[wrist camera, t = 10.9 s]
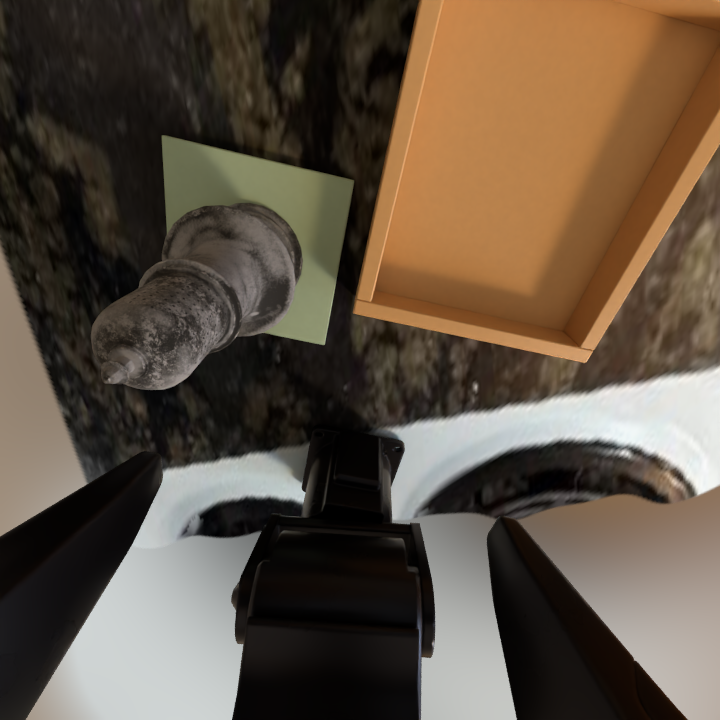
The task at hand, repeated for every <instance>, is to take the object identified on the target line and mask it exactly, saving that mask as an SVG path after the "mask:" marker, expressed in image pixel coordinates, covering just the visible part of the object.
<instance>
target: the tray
mask: <svg viewBox="0 0 720 720" xmlns="http://www.w3.org/2000/svg"><path fill="white" fill-rule="evenodd" d="M719 144H720V0H419V2H418V6H417V11H416V16H415V20H414V25H413V30H412V34H411V39H410V44H409V48H408V53H407V58H406V62H405V67H404V72H403V76H402V81H401V86H400V90H399V95H398V100H397V104H396V109H395V114H394V118H393V123H392V128H391V132H390V137H389V142H388V146H387V151H386V156H385V160H384V165H383V170H382V175H381V179H380V184H379V189H378V193H377V198H376V203H375V207H374V212H373V217H372V221H371V226H370V231H369V235H368V240H367V245H366V249H365V254H364V259H363V263H362V268H361V273H360V277H359V282H358V287H357V291H356V296H355V302H354V308H353V313H354V314H358V315H363V316H368V317H372V318H377V319H382V320H386V321H391V322H396V323H400V324H405V325H410V326H415V327H419V328H424V329H429V330H433V331H438V332H443V333H447V334H452V335H457V336H461V337H466V338H471V339H476V340H480V341H485V342H490V343H494V344H499V345H504V346H508V347H513V348H518V349H523V350H527V351H532V352H537V353H541V354H546V355H551V356H555V357H560V358H565V359H569V360H574V361H579V362H584V363H586V362H587V360H588V359H589V357H590V355H591V354H592V352H593V350H594V349H595V347H596V346H597V344H598V343H599V341H600V339H601V338H602V336H603V334H604V333H605V331H606V329H607V328H608V326H609V325H610V323H611V321H612V320H613V318H614V316H615V315H616V313H617V311H618V310H619V308H620V306H621V305H622V303H623V302H624V300H625V298H626V297H627V295H628V293H629V292H630V290H631V288H632V287H633V285H634V284H635V282H636V280H637V279H638V277H639V275H640V274H641V272H642V270H643V269H644V267H645V266H646V264H647V262H648V261H649V259H650V257H651V256H652V254H653V252H654V251H655V249H656V247H657V246H658V244H659V243H660V241H661V239H662V238H663V236H664V234H665V233H666V231H667V229H668V228H669V226H670V225H671V223H672V221H673V220H674V218H675V216H676V215H677V213H678V211H679V210H680V208H681V206H682V205H683V203H684V202H685V200H686V198H687V197H688V195H689V193H690V192H691V190H692V188H693V187H694V185H695V184H696V182H697V180H698V179H699V177H700V175H701V174H702V172H703V170H704V169H705V167H706V165H707V164H708V162H709V161H710V159H711V157H712V156H713V154H714V152H715V151H716V149H717V147H718V146H719Z"/></svg>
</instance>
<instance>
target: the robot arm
mask: <svg viewBox="0 0 720 720" xmlns="http://www.w3.org/2000/svg"><path fill="white" fill-rule="evenodd" d="M317 432H322V433H317ZM395 447H399V448H395ZM404 451H405V447H404V443H403V442H402V441H400V440H396V439H390V438H385V437H380V436H375V435H370V434H364V433H359V432H354V431H349V430H343V429H338V428H333V427H328V426H323V425H317V426H315V427H314V428H313V431H312V436H311V441H310V446H309V452H308V457H307V462H306V468H305V473H304V478H303V484H302V490H303V491H304V492H306V494H305V498H304V503H303V508H302V512H301V517H292V516H281V514H271V516H270V518H269V520H268V522H267V524H266V525H265V526H264V527H263V530H262V532H261V534H260V536H259V538H258V540H257V543H256V545H255V547H254V549H253V551H252V554H251V556H250V558H249V560H248V562H247V564H246V566H245V569H244V571H243V573H242V575H241V578H240V581H239V583H238V584H237V586H236V587H235V588H234V590H233V593H232V599H231V602H232V604H233V606H234V608H235V609H236V621H235V637H236V641H237V643H238V644H244V645H243V653H242V660H241V668H240V676H239V683H238V691H237V697H236V702H235V708H234V712H233V718H232V720H421V657H427V658H431V657H432V655H433V649H434V641H435V604H434V592H433V585H432V578H431V573H430V568H429V564H428V559H427V555H426V551H425V546H424V541H423V537H422V532H421V528H420V524H419V523H410V524H398V523H392V506H391V486H392V483H393V481H394V478H395V475H396V472H397V470H398V467H399V464H400V462H401V459H402V456H403V453H404ZM162 479H163V471H162V460H161V456H160V454H158V453H153V452H147V451H144V452H141V453H139V454H137V455H135V456H134V457H132V458H130V459H129V460H127V461H125V462H124V463H122V464H120V465H119V466H117V467H115V468H114V469H112V470H110V471H109V472H107V473H105V474H104V475H102V476H100V477H99V478H97V479H95V480H94V481H92V482H90V483H89V484H87V485H85V486H84V487H82V488H80V489H79V490H77V491H75V492H74V493H72V494H70V495H69V496H67V497H66V498H64V499H62V500H60V501H59V502H57V503H56V504H54V505H52V506H51V507H49V508H47V509H45V510H44V511H42V512H41V513H39V514H37V515H36V516H34V517H32V518H30V519H29V520H27V521H25V522H24V523H22V524H21V525H19V526H17V527H15V528H14V529H12V530H10V531H9V532H7V533H5V534H4V535H2V536H0V720H26V718H27V716H28V715H29V713H30V712H31V710H32V708H33V707H34V705H35V703H36V702H37V700H38V698H39V697H40V695H41V693H42V692H43V690H44V688H45V687H46V685H47V684H48V682H49V680H50V679H51V677H52V675H53V674H54V672H55V670H56V669H57V667H58V666H59V664H60V662H61V661H62V659H63V657H64V656H65V654H66V652H67V651H68V649H69V647H70V646H71V644H72V642H73V641H74V639H75V638H76V636H77V634H78V633H79V631H80V629H81V628H82V626H83V625H84V623H85V621H86V620H87V618H88V616H89V614H90V613H91V611H92V610H93V608H94V606H95V605H96V603H97V601H98V600H99V598H100V597H101V595H102V593H103V592H104V590H105V588H106V586H107V585H108V583H109V582H110V580H111V578H112V577H113V575H114V574H115V572H116V570H117V569H118V567H119V565H120V563H121V562H122V560H123V559H124V557H125V556H126V554H127V552H128V551H129V549H130V547H131V545H132V544H133V542H134V540H135V538H136V536H137V534H138V532H139V530H140V527H141V525H142V523H143V521H144V519H145V517H146V515H147V513H148V511H149V509H150V506H151V504H152V502H153V500H154V498H155V496H156V494H157V492H158V490H159V488H160V485H161V483H162ZM487 549H488V558H489V567H490V578H491V586H492V596H493V603H494V608H495V614H496V619H497V624H498V629H499V634H500V639H501V643H502V648H503V653H504V658H505V663H506V668H507V673H508V678H509V683H510V688H511V693H512V697H513V702H514V707H515V711H516V717H517V720H687V718H686V717H685V716H684V715H683V714H682V713H681V712H680V711H679V710H678V709H677V708H676V706H675V705H674V704H673V703H672V702H671V701H670V699H669V698H668V697H667V696H666V695H665V694H664V693H663V691H662V690H661V689H660V688H659V687H658V686H657V684H656V683H655V682H654V681H653V680H652V679H651V678H650V676H649V675H648V674H647V673H646V672H645V670H643V668H642V667H641V666H640V665H639V663H637V661H634V658H633V657H632V655H631V654H630V653H629V652H628V651H627V649H626V648H625V647H624V646H623V645H622V643H621V642H620V641H619V640H618V639H617V638H616V636H615V635H614V634H613V633H612V632H611V630H610V629H609V628H608V627H607V626H606V624H605V623H604V622H603V621H602V620H601V619H600V617H599V616H598V615H597V614H596V613H595V612H594V610H593V609H592V608H591V607H590V606H589V605H588V603H587V602H586V601H585V600H584V599H583V598H582V596H581V595H580V594H579V593H578V591H577V590H576V589H575V588H574V587H573V585H572V584H571V583H570V582H569V581H568V580H567V578H566V577H565V576H564V575H563V574H562V572H561V571H560V570H559V569H558V568H557V567H556V565H555V564H554V563H553V562H552V561H551V560H550V558H549V557H548V556H547V555H546V554H545V552H544V551H543V550H542V549H541V548H540V546H539V545H538V544H537V543H536V542H535V541H534V539H533V538H532V537H531V536H530V535H529V534H528V532H527V531H526V530H525V529H524V528H523V527H522V525H521V524H520V523H519V522H518V521H517V520H516V519H515V518H511V517H506V516H500V517H498V519H497V520H496V522H495V524H494V525H493V527H492V528H491V530H490V531H489V533H488V536H487Z"/></svg>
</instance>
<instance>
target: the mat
mask: <svg viewBox="0 0 720 720" xmlns="http://www.w3.org/2000/svg"><path fill="white" fill-rule="evenodd" d="M162 151H163V169H164V187H165V205H166V223H167V234H168V232H169V231H170V229H171V227H172V226H173V224H174V223H175V222H176V221H177V220H178V219H180V218H181V217H182V216H183V215H185V214H186V213H187V212H190V211H192V210H195V209H198V208H200V207H203V206H215V205H224V206H230V205H233V204H235V203H253V204H257V205H262V206H264V207H266V208H268V209H270V210H272V211H274V212H276V213H277V214H278V215H279V216H281V217H282V218H283V219H284V220H285V221H286V222H287V223H288V224H289V225H290V227H291V228H292V230H293V231H294V233H295V234H296V236H297V238H298V241H299V244H300V246H301V250H302V258H303V265H302V272H301V276H300V278H299V280H298V283H297V285H296V286H295V292H294V299H293V301H292V303H291V305H290V308H289V310H288V312H287V314H286V315H285V316H284V317H283V318H282V319H281V321H280V322H279V323H278V324H277V325H275V326H274V327H272V328H270V329H269V330H267V331H266V332H263V333H268V334H272V335H277V336H282V337H287V338H292V339H297V340H302V341H306V342H311V343H316V344H321V345H324V344H325V340H326V335H327V329H328V324H329V318H330V313H331V308H332V302H333V297H334V291H335V286H336V280H337V275H338V269H339V264H340V258H341V253H342V247H343V242H344V236H345V231H346V225H347V220H348V214H349V209H350V203H351V198H352V192H353V187H354V180H351V179H347V178H343V177H339V176H335V175H330V174H326V173H322V172H318V171H313V170H309V169H305V168H301V167H297V166H292V165H288V164H284V163H280V162H275V161H271V160H267V159H263V158H259V157H254V156H250V155H246V154H242V153H237V152H233V151H229V150H225V149H221V148H216V147H212V146H208V145H204V144H200V143H195V142H191V141H187V140H183V139H178V138H174V137H170V136H165V135H162Z"/></svg>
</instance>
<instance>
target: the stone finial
mask: <svg viewBox="0 0 720 720" xmlns="http://www.w3.org/2000/svg"><path fill="white" fill-rule="evenodd" d="M302 265H303V258H302V250H301V246H300V244H299V241H298V238H297V236H296V234H295V233H294V231H293V230H292V228H291V227H290V225H289V224H288V223H287V222H286V221H285V220H284V219H283V218H282V217H281V216H279V215H278V214H277V213H276V212H274V211H272V210H270V209H268V208H266V207H264V206H262V205H257V204H253V203H235V204H233V205H230V206H224V205H215V206H203V207H200V208H198V209H195V210H192V211H190V212H187V213H186V214H185V215H183V216H182V217H181V218H180V219H178V220H177V221H176V222H175V223H174V224H173V226H172V227H171V229H170V231H169V232H168V234H167V236H166V237H165V242H164V246H163V250H162V262H159V263H156V264H155V265H154V266H152V267H151V268H150V269H148V270H147V271H146V272H145V274H144V276H143V277H142V279H141V280H140V284H139V288H138V289H137V290H135V291H133V292H131V293H130V294H128V295H126V296H124V297H123V298H121V299H119V300H117V301H116V302H114V303H112V304H111V305H109V306H108V307H107V308H105V309H104V310H103V311H102V312H101V313H100V314H99V316H98V317H97V319H96V320H95V322H94V324H93V325H92V331H91V343H92V349H93V353H94V355H95V357H96V359H97V361H98V362H99V364H100V365H101V376H102V381H103V382H104V383H110V384H126V385H128V386H131V387H133V388H138V389H144V390H163V389H167V388H170V387H173V386H175V385H177V384H178V383H180V382H181V381H183V380H185V379H186V378H188V377H189V375H190V374H191V373H192V372H193V371H194V370H195V368H196V367H197V366H198V365H199V364H200V362H201V361H202V360H203V359H204V358H205V356H206V355H207V354H209V353H213V352H216V351H220V350H222V349H223V348H225V347H227V346H228V345H230V344H231V343H232V341H233V340H234V339H235V338H236V337H237V336H252V335H256V334H259V333H263V332H266V331H267V330H269V329H270V328H272V327H274V326H275V325H277V324H278V323H279V322H280V321H281V319H282V318H283V317H284V316H285V315H286V314H287V312H288V310H289V308H290V305H291V303H292V301H293V299H294V292H295V286H296V285H297V283H298V280H299V278H300V276H301V272H302Z"/></svg>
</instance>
